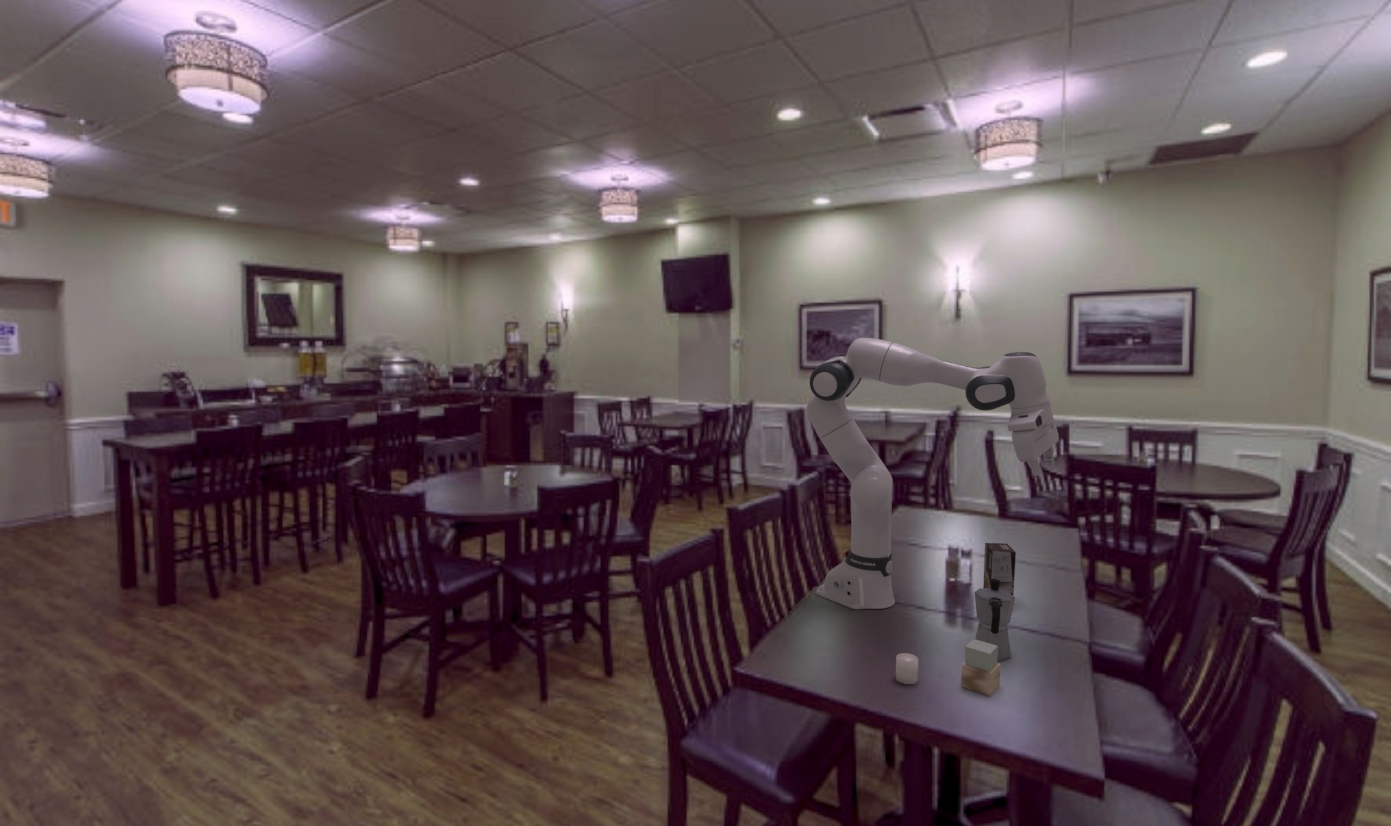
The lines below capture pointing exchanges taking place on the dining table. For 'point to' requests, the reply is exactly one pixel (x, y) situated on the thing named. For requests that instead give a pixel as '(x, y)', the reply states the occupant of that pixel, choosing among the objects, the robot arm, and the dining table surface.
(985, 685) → the tower base
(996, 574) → the coffee box
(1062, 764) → the dining table surface
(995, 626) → the coffee maker
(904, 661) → the grey rounded cylinder
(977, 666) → the tower top
